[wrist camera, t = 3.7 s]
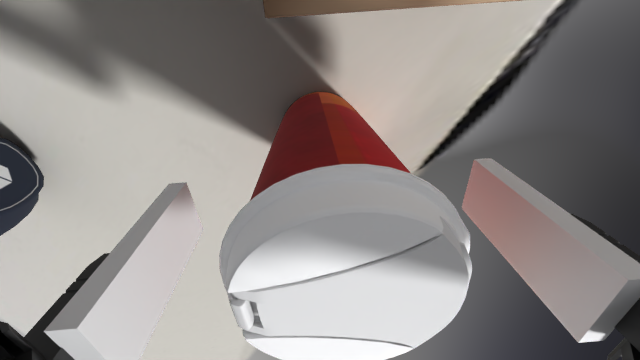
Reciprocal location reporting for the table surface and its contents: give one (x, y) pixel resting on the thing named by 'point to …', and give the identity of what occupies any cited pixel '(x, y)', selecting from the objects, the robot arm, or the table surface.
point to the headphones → (17, 185)
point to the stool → (351, 6)
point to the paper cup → (342, 244)
